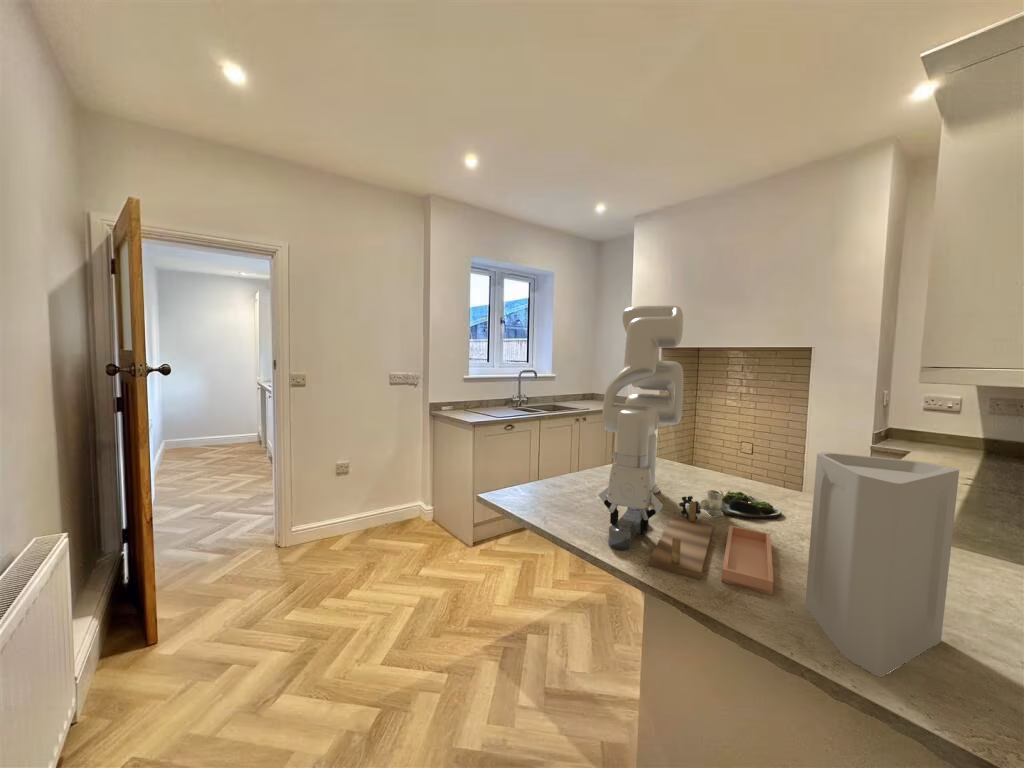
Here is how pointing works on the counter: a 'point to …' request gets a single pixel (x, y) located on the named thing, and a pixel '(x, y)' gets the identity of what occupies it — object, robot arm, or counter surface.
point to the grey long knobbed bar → (625, 530)
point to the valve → (705, 504)
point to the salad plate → (748, 507)
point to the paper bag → (880, 556)
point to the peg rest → (683, 545)
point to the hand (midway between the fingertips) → (628, 529)
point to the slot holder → (748, 560)
